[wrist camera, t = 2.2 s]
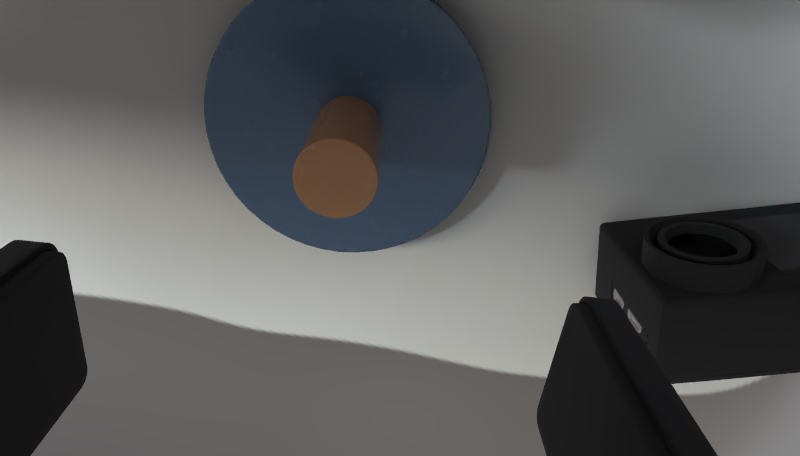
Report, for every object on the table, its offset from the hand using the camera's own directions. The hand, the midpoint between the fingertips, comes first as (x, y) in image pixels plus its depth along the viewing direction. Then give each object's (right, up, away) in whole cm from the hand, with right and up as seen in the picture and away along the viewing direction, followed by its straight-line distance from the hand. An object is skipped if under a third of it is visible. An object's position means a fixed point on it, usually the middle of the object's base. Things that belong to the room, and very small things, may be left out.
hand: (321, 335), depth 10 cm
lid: (-1, +7, +13) cm, 15 cm away
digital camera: (+17, +2, +17) cm, 24 cm away
